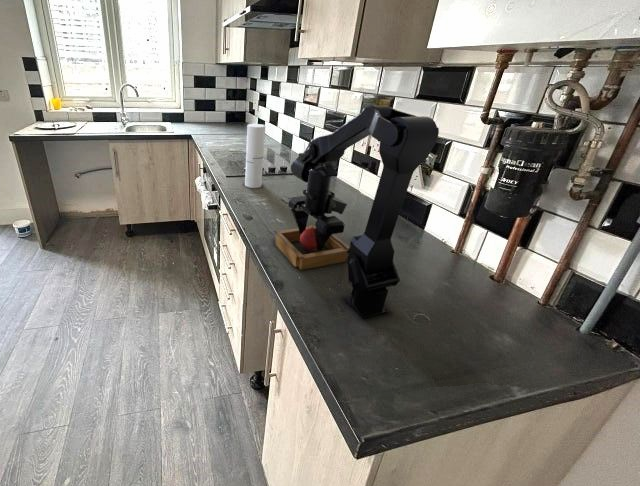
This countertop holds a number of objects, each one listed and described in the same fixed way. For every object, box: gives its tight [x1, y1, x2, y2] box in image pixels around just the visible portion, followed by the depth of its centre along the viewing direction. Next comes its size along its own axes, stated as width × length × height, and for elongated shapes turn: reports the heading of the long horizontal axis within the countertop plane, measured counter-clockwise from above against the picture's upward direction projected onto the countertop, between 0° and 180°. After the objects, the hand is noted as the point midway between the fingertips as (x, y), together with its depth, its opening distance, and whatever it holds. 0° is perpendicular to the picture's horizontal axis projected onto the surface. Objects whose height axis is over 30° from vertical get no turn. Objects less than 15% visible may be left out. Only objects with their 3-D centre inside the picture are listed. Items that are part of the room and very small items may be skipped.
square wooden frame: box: [273, 225, 350, 271], centre depth 89 cm, size 15×15×4 cm
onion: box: [299, 224, 317, 252], centre depth 88 cm, size 6×6×8 cm
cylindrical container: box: [244, 123, 266, 189], centre depth 133 cm, size 7×7×25 cm
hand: (310, 241), depth 89 cm, fingers open, 9 cm apart
